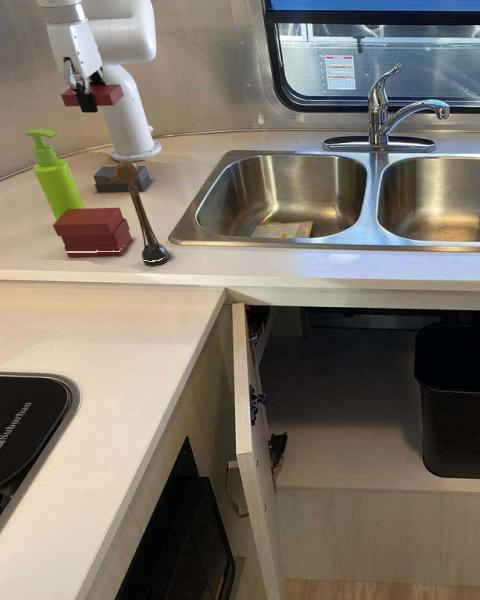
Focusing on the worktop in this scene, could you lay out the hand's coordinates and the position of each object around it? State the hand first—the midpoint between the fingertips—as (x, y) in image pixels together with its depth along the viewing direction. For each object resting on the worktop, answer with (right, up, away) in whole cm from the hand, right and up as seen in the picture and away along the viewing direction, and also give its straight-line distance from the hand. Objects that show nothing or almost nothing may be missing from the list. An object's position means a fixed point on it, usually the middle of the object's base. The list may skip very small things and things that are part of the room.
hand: (96, 105), depth 118 cm
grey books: (0, -15, +11) cm, 19 cm away
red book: (0, +1, -1) cm, 1 cm away
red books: (+6, -32, -10) cm, 34 cm away
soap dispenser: (-3, -26, -2) cm, 26 cm away
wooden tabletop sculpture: (+18, -34, -13) cm, 41 cm away
